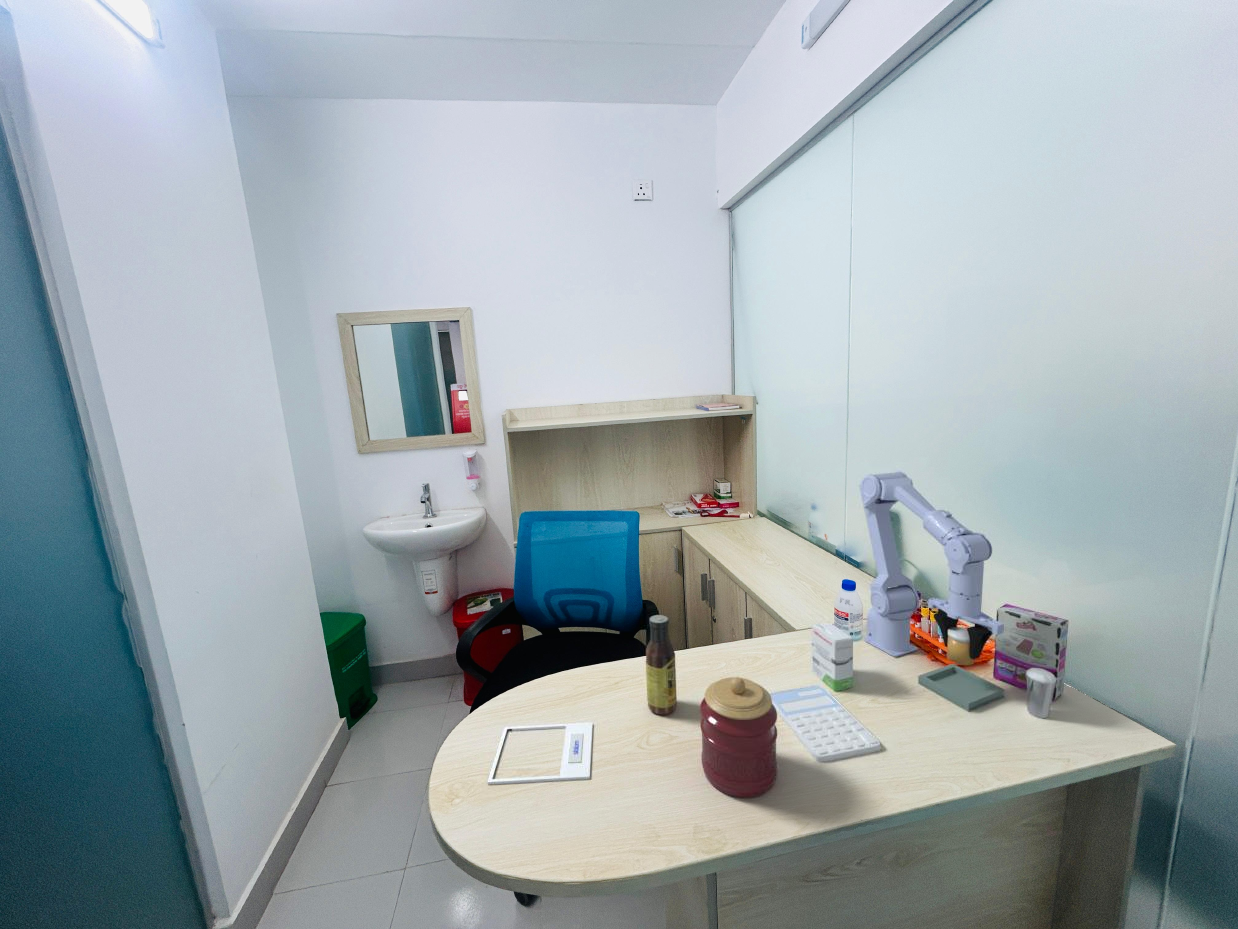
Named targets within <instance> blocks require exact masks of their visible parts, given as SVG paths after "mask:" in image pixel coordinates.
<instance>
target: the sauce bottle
mask: <svg viewBox="0 0 1238 929" xmlns="http://www.w3.org/2000/svg"><path fill="white" fill-rule="evenodd" d="M648 622H649V623H648V624H649V627H650V636H649V637H650V640H649V642H648V643H647V645H646V648H645V659H646V660H645V675H646V697H647V698H646V700H647V706H648V709H649V710H650V712H652V713H654V714H656V715H661V716H662V715H663V716H664V715H665V716H666V715H669V714H671V713H672V712H674V711H675V709H676V706H677V674H676V672H677V671H676V668H677V667H676V653H675V650H674V648H673V645H672V642H671V640H670V634H669V625H670V622H669V618H668V617H667V616H665V615H663V614H656V615H652V616H650V617H649V620H648Z"/></svg>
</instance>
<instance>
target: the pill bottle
mask: <svg viewBox="0 0 1238 929" xmlns="http://www.w3.org/2000/svg"><path fill="white" fill-rule="evenodd" d="M946 658H947V659H948V660H949V661H951V662H952V663H953V664H956V665H957V664H958V665H962V666H972V665H973V664H975V659H971V658H970V639H969V634H968V631H967V628H965V627H960V626H959V627H951V628H949V629H948V644H947V647H946Z"/></svg>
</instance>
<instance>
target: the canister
mask: <svg viewBox="0 0 1238 929" xmlns="http://www.w3.org/2000/svg"><path fill="white" fill-rule="evenodd" d="M769 693H770V692H769V691H768V690H767V689H766V688H764V687H763V686H762V685H760V684H759V683H757V682H754V681H753V680H750V679H747V678H744V677H738V676H736V677H735V676H733V677H726V678H722V679H719V680H717V681H714V682H713V683H711V684H710V685H709V686H708V687H707V688H706V690H705V693H704V698H703V699H702V700H701V702H700V706H699V709H700V710H699V711H700V714H701V716H702V718H701V721H700V732H701V745H702V746H701V748H702V751H701V765H702V768H703V772H704V776H705V778H706V780H707V781H708V782H709V783H710V784H711V785H712V786H713V787H714V788H716V789H717V790H719V792H722V793H724V794H726V795H729V796H731V797H732V796H733V797H735V798H736V797H737V798H742V799H743V798H746V799H747V798H748V799H749V798H754V797H759V796H762V795H763V794H765V793H767V792H768V791H770V790H771V788H772V787H773V786H774V784H775V782H776V777H777V774H778V760H777V739H778V729H777V726H776V723H777V721H778V713H777V711H776V708H775V707H774V705H773V704H772V699H771V696H770V694H769Z"/></svg>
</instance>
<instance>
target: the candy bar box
mask: <svg viewBox="0 0 1238 929" xmlns="http://www.w3.org/2000/svg"><path fill="white" fill-rule="evenodd" d="M995 620H996V621H998V622H1000V623H1003V624H1004V633H1002V634H999V635H996V634H995V640H994V657H993V669H992V670H993V675H992V677H993V678H994V679H995V680H999V681H1001V682H1003V683H1005V684H1008V685H1011V686H1014V687H1016V688H1019V689H1021V690H1024V691H1027V679H1026V671H1027V670H1028V669H1030V668H1041V669H1044V670H1046V671H1049V672H1050V673H1052V674H1053V675H1054V676H1055V678H1057V677H1058V676H1059V674H1060V673H1061V672H1062V671H1063V673H1062V674H1061V675H1060V676H1059V677H1058V679H1057V680H1056V684H1055V688H1054V693H1053V698H1052V702H1053V701H1054V702H1055V701H1057V699H1058V698H1060V696H1062V695H1063V693H1064V686H1065V672H1066V671H1065V670H1066V658H1067V655H1066V654H1067V645H1068V633H1069V620H1068V619H1065V618H1061V617H1058V616H1054V615H1050V614H1046V613H1043V612H1039V611H1035V610H1031V609H1028V608H1024V607H1021V606H1017V605H1012V604H1008V603H1004V604H1003V605H1001V606H1000V607H999V608H997V609H996V619H995Z"/></svg>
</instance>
